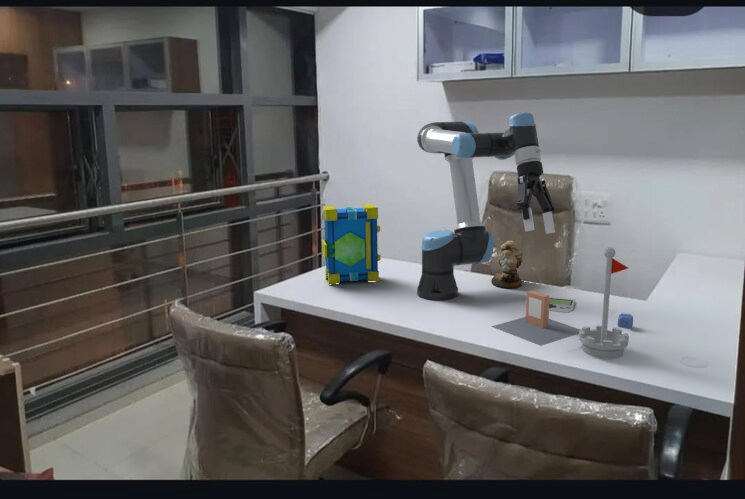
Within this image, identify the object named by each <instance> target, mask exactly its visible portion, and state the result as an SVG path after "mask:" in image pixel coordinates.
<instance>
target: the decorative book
mask: <svg viewBox="0 0 745 499" xmlns="http://www.w3.org/2000/svg"><path fill="white" fill-rule="evenodd" d="M322 207H323V220H324V221H323V222H324V239H323V238H322V239H321V253H322V255H323V257H324V259H325V269H324V271H325V272H324V273H325V275H324V276H325V279H326V278H328V279H327V281H328V285H329V284H336V283H340V282H346V281H349V282H358V281H360V280H367V282H368V281H379V282H380V274H379V273H380V272H379V264H378V263H379V261H381V260H382V257H381V254H379V253H378V252H379V251H378V249H379V248H378V246H379V245H378V233H380V232H381V225H379V224H378V219H379V207H375V204H374V203H371V204H362V207H357V208H356V207H354V206H345V207H344V208H335V205H326V206H325V205H324V206H322ZM340 284H341V283H340Z"/></svg>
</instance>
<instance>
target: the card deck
mask: <svg viewBox="0 0 745 499" xmlns="http://www.w3.org/2000/svg"><path fill="white" fill-rule="evenodd" d="M550 298H551V296H550V295H549V294H545V293H541V292H538V291H535V290H527V291H526V304H525V308H526V310H525V312H526V313H525V317H526V322H527V323H530V324H533V325H536V326H539V327H541V328H545V327H548V319H550V318H549V314H550V311H549V299H550Z"/></svg>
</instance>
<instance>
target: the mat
mask: <svg viewBox="0 0 745 499" xmlns="http://www.w3.org/2000/svg"><path fill="white" fill-rule="evenodd" d="M491 327H492V328H494V329H496V330H498V331H502V332H505V333H507V334H509V335H512V336H515V337H517V338H520V339H521V340H525V341H528V342H530V343H533V344H535V345H538V346H541V347H542V346H544V345H547V344H550V343H553V342H554V343H555V342H556V341H560V340H564V339H565V338H570V337H572V336H575V335H578V334H579V331H582V329H580V328H578V327H575V326H571V325H569V324H565V323H562V322H559V321H557V320H553V319H550V318H549V319H548V327H545V328H541V327H539V326H536V325H533V324H530V323H527V322H526V316H524V317H519V318H516V319H513V320H509V321H506V322H503V323H498V324H494V325H491Z"/></svg>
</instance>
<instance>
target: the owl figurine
mask: <svg viewBox="0 0 745 499" xmlns="http://www.w3.org/2000/svg"><path fill="white" fill-rule="evenodd" d="M497 258H498V259H497V261H498V262H497V263H498V267H500V268H501V270H502V272H501V273H495V274H494V275H493V277H492V278H491V281H490V282H491V284H492V285H493V286H494V287H495V288H500V289H503V290H505V289H507V290H513V289H519V288H520V287H522V285H523V280H522V278H520V275H519V273H518V269H519V268H520V267H521V264H522V262H523V251H522V250H521V249H520V246H519V244H518V243H517V242H516V241H513V240H506V241H505V243H503V244H501V247H500V251H499V253H498V256H497Z"/></svg>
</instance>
